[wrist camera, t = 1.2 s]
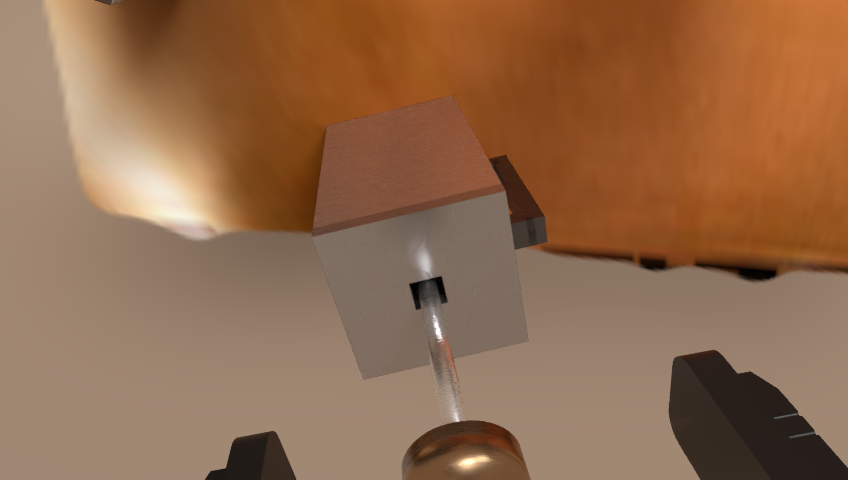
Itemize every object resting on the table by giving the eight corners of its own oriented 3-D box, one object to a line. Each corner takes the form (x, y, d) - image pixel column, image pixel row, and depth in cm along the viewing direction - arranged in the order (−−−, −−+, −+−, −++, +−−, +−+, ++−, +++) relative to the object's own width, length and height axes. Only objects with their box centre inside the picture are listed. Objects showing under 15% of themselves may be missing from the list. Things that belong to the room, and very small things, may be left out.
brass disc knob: (467, 174, 37) (569, 406, 19) (487, 278, 41) (585, 545, 24) (343, 204, 37) (332, 461, 20) (375, 305, 41) (389, 590, 24)
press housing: (486, 87, 48) (557, 178, 31) (503, 200, 54) (572, 330, 37) (326, 125, 48) (311, 237, 31) (360, 234, 54) (363, 379, 37)
